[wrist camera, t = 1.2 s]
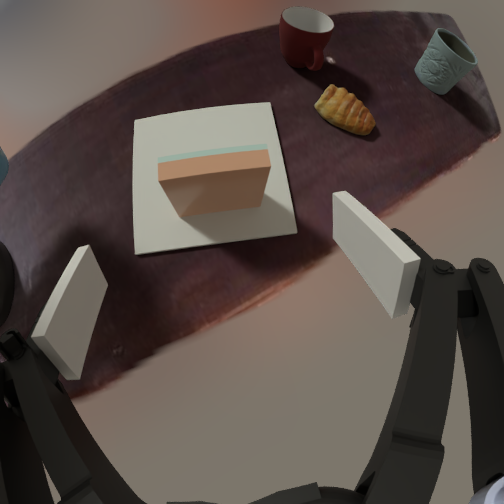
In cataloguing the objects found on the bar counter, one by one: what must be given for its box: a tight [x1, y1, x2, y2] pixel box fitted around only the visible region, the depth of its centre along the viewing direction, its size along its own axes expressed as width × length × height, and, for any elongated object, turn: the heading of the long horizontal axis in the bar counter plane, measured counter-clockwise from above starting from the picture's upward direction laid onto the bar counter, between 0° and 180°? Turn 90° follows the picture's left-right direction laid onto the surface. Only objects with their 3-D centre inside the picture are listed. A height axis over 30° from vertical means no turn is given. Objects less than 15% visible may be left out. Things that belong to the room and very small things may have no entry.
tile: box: [158, 144, 271, 217], centre depth 30 cm, size 10×2×11 cm, turn 98°
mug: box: [279, 6, 334, 71], centre depth 37 cm, size 10×8×10 cm
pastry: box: [315, 84, 375, 135], centre depth 39 cm, size 9×7×4 cm
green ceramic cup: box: [415, 28, 478, 95], centre depth 39 cm, size 10×10×12 cm
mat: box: [133, 102, 297, 255], centre depth 37 cm, size 20×20×1 cm
